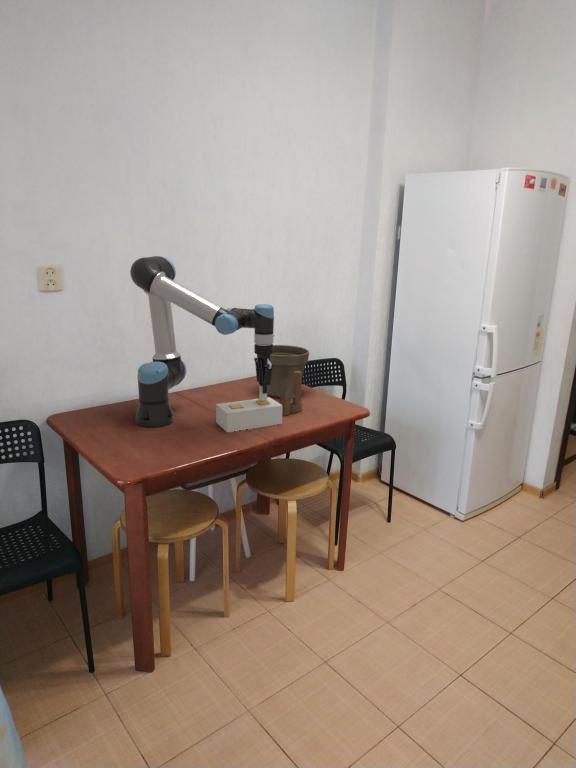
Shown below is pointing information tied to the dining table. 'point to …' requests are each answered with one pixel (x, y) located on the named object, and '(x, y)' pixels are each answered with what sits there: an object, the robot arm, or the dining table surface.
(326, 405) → the dining table surface
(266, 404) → the peg far
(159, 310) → the robot arm
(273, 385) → the plant pot
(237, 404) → the peg near
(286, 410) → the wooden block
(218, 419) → the socket block
